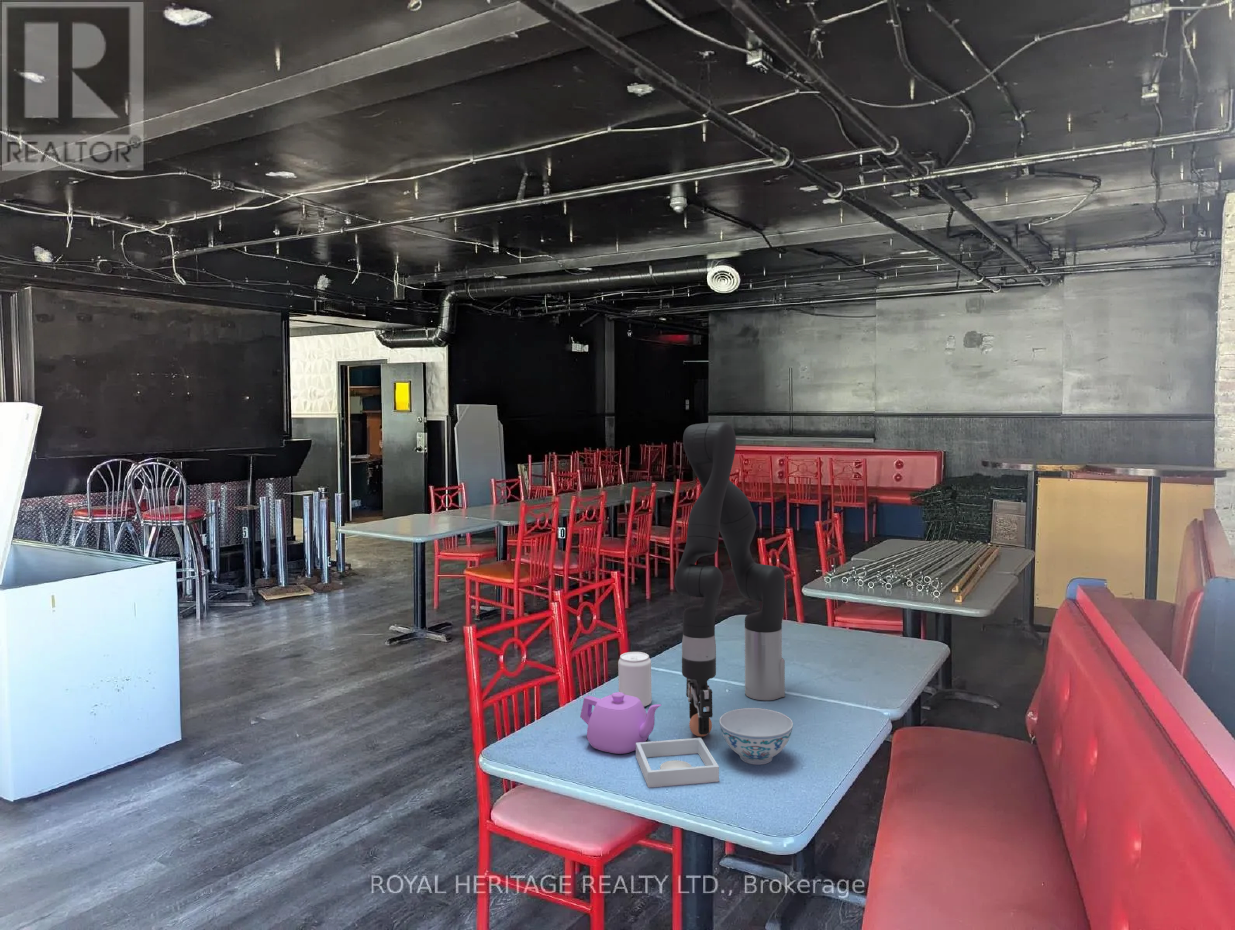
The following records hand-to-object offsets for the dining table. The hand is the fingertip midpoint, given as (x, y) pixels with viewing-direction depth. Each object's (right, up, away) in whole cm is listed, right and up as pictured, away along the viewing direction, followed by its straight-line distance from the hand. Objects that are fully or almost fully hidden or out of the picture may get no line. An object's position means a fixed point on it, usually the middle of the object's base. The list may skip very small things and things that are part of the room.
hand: (698, 726), depth 177 cm
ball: (0, -2, 0) cm, 2 cm away
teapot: (-17, -3, -3) cm, 18 cm away
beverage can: (-14, -1, +20) cm, 25 cm away
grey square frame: (-6, -3, -16) cm, 17 cm away
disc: (-6, -3, -16) cm, 17 cm away
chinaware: (+11, -3, -11) cm, 16 cm away
